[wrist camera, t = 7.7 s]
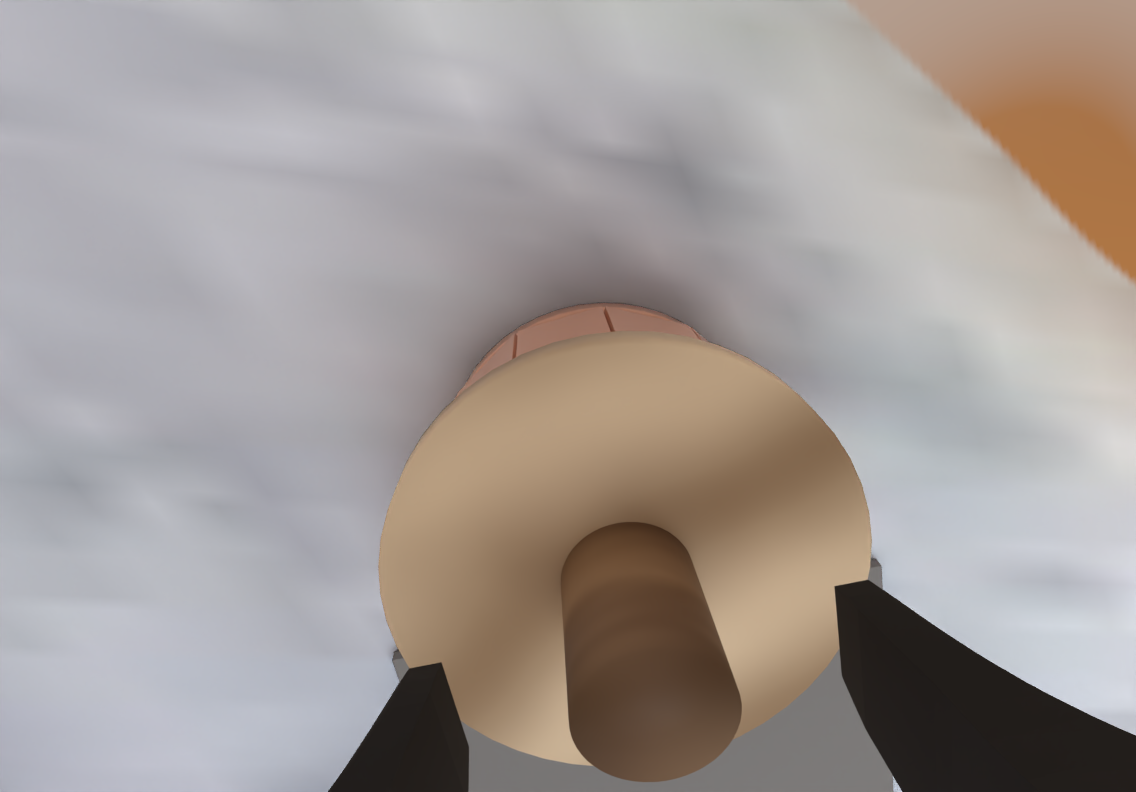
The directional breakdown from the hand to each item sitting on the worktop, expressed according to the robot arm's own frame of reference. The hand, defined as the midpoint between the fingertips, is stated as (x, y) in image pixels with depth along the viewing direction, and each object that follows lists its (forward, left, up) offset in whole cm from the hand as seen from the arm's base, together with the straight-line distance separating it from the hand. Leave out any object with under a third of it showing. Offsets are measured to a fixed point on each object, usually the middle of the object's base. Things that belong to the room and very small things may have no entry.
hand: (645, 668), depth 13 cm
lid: (0, 0, -4) cm, 4 cm away
